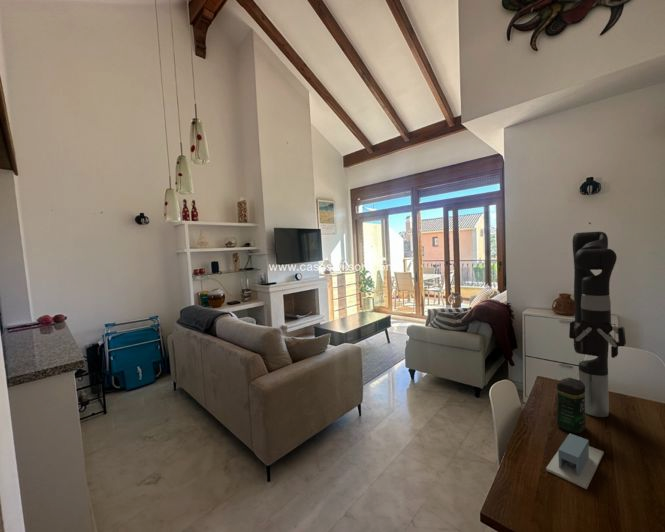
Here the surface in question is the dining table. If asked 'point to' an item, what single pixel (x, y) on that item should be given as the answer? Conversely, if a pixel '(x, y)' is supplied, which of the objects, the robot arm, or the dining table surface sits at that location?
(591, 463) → the board
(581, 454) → the block
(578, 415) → the coffee jar
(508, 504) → the dining table surface
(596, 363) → the robot arm
